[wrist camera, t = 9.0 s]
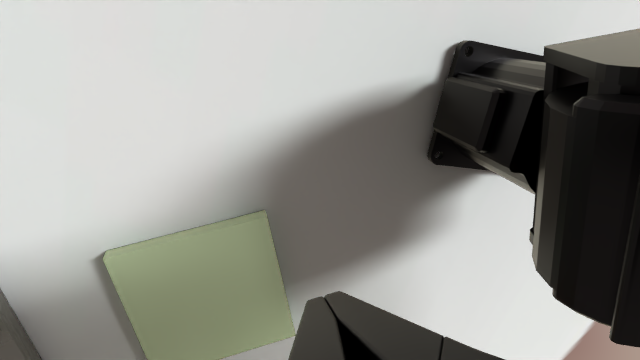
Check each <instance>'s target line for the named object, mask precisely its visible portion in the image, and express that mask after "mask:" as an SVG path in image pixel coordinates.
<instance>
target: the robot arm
mask: <svg viewBox="0 0 640 360" xmlns="http://www.w3.org/2000/svg"><path fill="white" fill-rule="evenodd" d="M466 47H468V48H469V52H468V54H467V55H466V56H465V54H464V50H465V48H466ZM433 127H434V131H433V135H432V138H431V142H430V145H429V149H428V153H427V157H428V160H429V161H431V162H432V163H434V164H436V165H445V166H454V167H463V168H472V169H482V170H491V171H493V172H494V173H496V174H498V175H500V176H502V177H504V178H505V179H507V180H509V181H511V182H513V183H515V184H516V185H518V186H520V187H522V188H524V189H526V190H528V191H529V192H531V193H533V194H535V206H534V218H533V228H531V229H530V239H529V240H530V242H531V243H532V245H533V250H532V257H533V261H534V264H535V268H536V271H537V272H538V273H539V274H540V275H541V276H542V278H543V279H544V280H545V281H546V282H547V283H548V285H549V286H550V287H552V288H553V296H554V298H555V299H557V300H558V301H560V302H561V303H563V304H564V305H566V306H567V307H569V308H571V309H572V310H574V311H575V312H577V313H579V314H581V315H583V316H585V317H587V318H590V319H592V320H594V321H596V322H598V323H601V324H605V325H608V326H611V331H610V336H609V338H610V340H611V341H613V342H614V343H616V344H621V345H628V346H634V347H640V29H635V30H629V31H624V32H619V33H613V34H608V35H602V36H597V37H591V38H586V39H580V40H575V41H569V42H564V43H559V44H553V45H548V46H544V56H540V55H535V54H531V53H526V52H521V51H517V50H512V49H507V48H503V47H498V46H493V45H489V44H484V43H479V42H475V41H462V42H460V43H459V44H458V46H457V48H456V51H455V54H454V58H453V62H452V65H451V69H450V73H449V76H448V79H447V80H446V81H445V84H444V88H443V91H442V95H441V99H440V102H439V106H438V110H437V113H436V117H435V121H434V124H433ZM437 152H440V154H439V156H438V157H437V158H435V154H436V153H437ZM288 360H505V359H502V358H499V357H496V356H493V355H490V354H488V353H485V352H482V351H479V350H477V349H475V348H472V347H470V346H467V345H465V344H462V343H460V342H457V341H455V340H453V339H450V338H448V337H443V336H442V335H440V334H437V333H435V332H433V331H431V330H428V329H426V328H424V327H421V326H419V325H417V324H415V323H412V322H410V321H408V320H405V319H403V318H401V317H398V316H396V315H394V314H392V313H389V312H387V311H385V310H382V309H380V308H378V307H375V306H373V305H371V304H369V303H366V302H364V301H362V300H359V299H357V298H355V297H352V296H350V295H348V294H346V293H343V292H340V291H337V292H334V293H331V294H327V295H325V297H324V298H323V297H317V298H314V299H311V300H308V301H307V303H306V306H305V309H304V312H303V315H302V318H301V321H300V324H299V328H298V331H297V334H296V337H295V340H294V343H293V347H292V350H291V353H290V356H289V359H288Z"/></svg>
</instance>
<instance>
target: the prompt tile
mask: <svg viewBox="0 0 640 360" xmlns="http://www.w3.org/2000/svg"><path fill="white" fill-rule="evenodd" d="M103 261H104V264H105V266H106V268H107V270H108V273H109V275H110V277H111V279H112V282H113V284H114V286H115V288H116V291H117V293H118V295H119V297H120V300H121V302H122V304H123V306H124V309H125V311H126V313H127V315H128V318H129V320H130V322H131V324H132V327H133V329H134V331H135V333H136V336H137V338H138V340H139V342H140V345H141V347H142V349H143V351H144V354H145V356H146V358H147V360H219V359H222V358H225V357H229V356H232V355H235V354H238V353H241V352H245V351H248V350H251V349H254V348H258V347H261V346H264V345H267V344H270V343H274V342H277V341H280V340H283V339H287V338H290V337H293V336H296V334H295V330H294V326H293V322H292V318H291V314H290V310H289V305H288V301H287V297H286V293H285V289H284V285H283V281H282V276H281V272H280V268H279V264H278V260H277V256H276V252H275V247H274V243H273V239H272V235H271V231H270V227H269V223H268V218H267V215H266V211H265V210H263V211H259V212H255V213H252V214H248V215H244V216H240V217H236V218H232V219H228V220H224V221H220V222H216V223H213V224H209V225H205V226H201V227H197V228H193V229H189V230H185V231H181V232H177V233H174V234H170V235H166V236H162V237H158V238H154V239H150V240H146V241H142V242H139V243H135V244H131V245H127V246H123V247H119V248H115V249H111V250H107V251H106V253H105V255H104V257H103Z"/></svg>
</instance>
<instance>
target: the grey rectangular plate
mask: <svg viewBox="0 0 640 360" xmlns="http://www.w3.org/2000/svg"><path fill="white" fill-rule="evenodd" d="M0 360H42V359H41V358H40V356H39V354H38V353H37V351H36V349H35V347H34V346H33V344H32V342H31V341H30V339H29V337H28V335H27V334H26V332H25V330H24V329H23V327H22V325H21V323H20V322H19V320H18V318H17V317H16V315H15V313H14V311H13V310H12V308H11V306H10V305H9V303H8V301H7V299H6V298H5V296H4V294H3V293H2V291H1V289H0Z"/></svg>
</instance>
